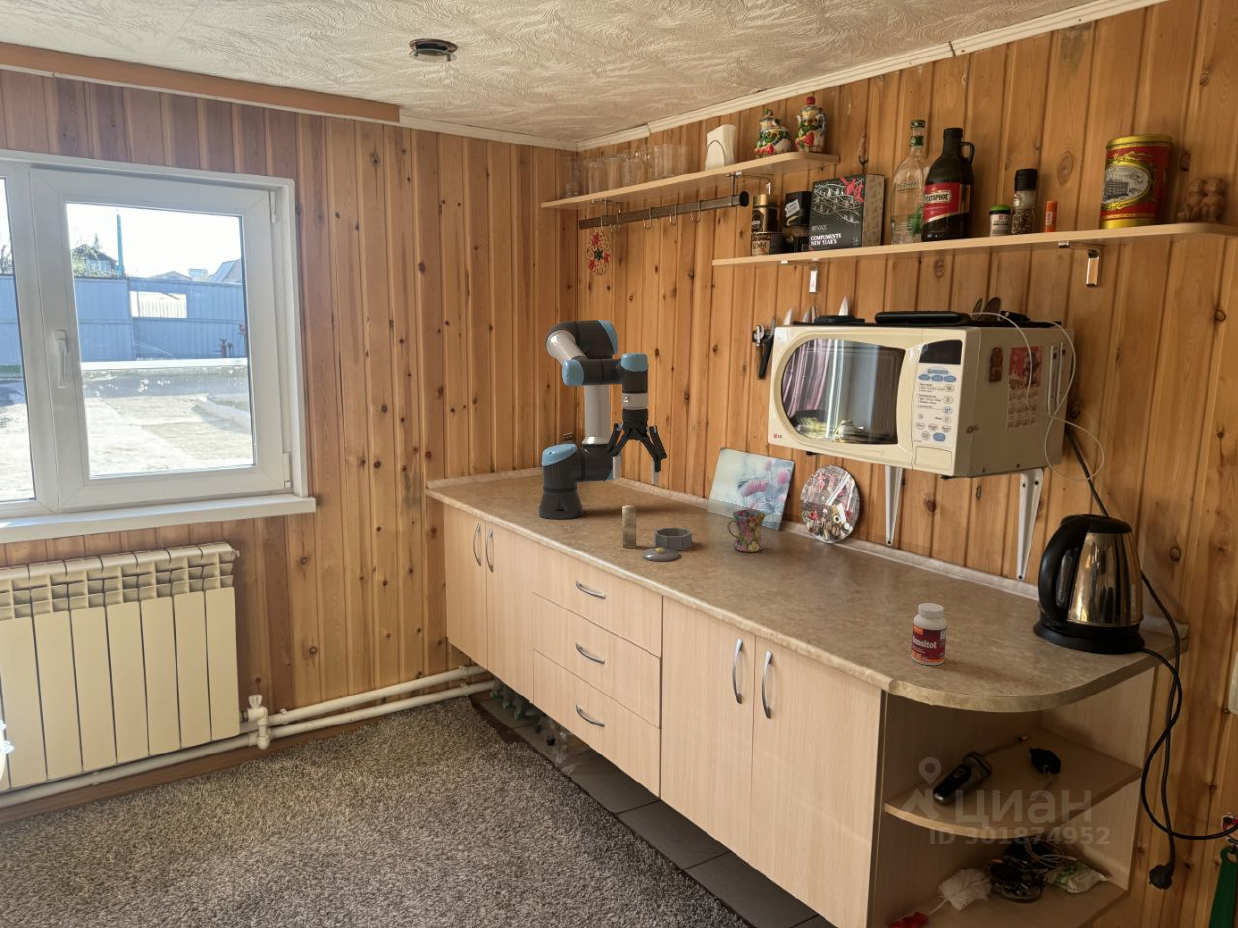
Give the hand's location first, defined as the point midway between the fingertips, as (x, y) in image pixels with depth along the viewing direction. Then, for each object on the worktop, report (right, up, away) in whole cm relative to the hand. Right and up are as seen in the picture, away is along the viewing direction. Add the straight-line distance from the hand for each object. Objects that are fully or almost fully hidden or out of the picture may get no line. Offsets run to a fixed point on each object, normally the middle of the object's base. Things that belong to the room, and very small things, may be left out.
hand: (635, 480), depth 249 cm
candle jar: (+11, -19, +3) cm, 22 cm away
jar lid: (+7, -21, -8) cm, 23 cm away
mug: (+31, -20, -2) cm, 37 cm away
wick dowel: (-2, -19, +2) cm, 20 cm away
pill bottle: (+56, -34, -79) cm, 103 cm away
